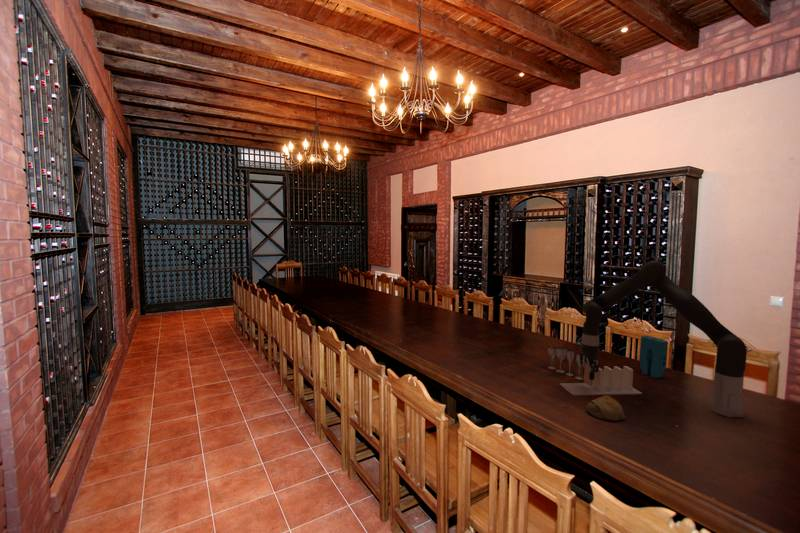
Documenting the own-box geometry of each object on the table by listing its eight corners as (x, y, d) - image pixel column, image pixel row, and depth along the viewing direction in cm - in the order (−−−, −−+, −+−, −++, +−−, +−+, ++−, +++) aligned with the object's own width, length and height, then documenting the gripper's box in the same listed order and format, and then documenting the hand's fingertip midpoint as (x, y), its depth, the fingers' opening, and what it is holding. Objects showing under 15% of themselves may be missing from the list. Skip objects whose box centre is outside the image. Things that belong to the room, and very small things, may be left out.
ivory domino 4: (631, 389, 182) (633, 369, 181) (628, 389, 182) (630, 369, 181) (625, 385, 187) (626, 366, 186) (622, 385, 187) (623, 366, 186)
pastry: (628, 415, 158) (629, 397, 157) (620, 426, 149) (621, 406, 148) (592, 404, 167) (592, 387, 167) (582, 414, 158) (583, 396, 158)
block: (666, 378, 199) (668, 341, 197) (659, 379, 197) (662, 342, 195) (644, 370, 210) (646, 335, 208) (638, 371, 208) (640, 336, 206)
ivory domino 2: (612, 390, 182) (613, 370, 181) (609, 390, 181) (610, 370, 181) (605, 385, 187) (607, 366, 186) (602, 385, 186) (603, 366, 186)
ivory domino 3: (622, 389, 182) (623, 369, 181) (618, 389, 182) (620, 369, 181) (615, 385, 187) (616, 366, 186) (612, 385, 187) (613, 366, 186)
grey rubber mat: (642, 394, 178) (642, 393, 178) (573, 395, 176) (573, 394, 176) (624, 383, 191) (624, 382, 191) (559, 384, 189) (559, 383, 189)
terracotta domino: (592, 385, 181) (593, 365, 180) (589, 385, 181) (590, 365, 180) (586, 381, 186) (587, 362, 185) (583, 381, 186) (584, 362, 185)
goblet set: (544, 367, 213) (545, 344, 212) (551, 365, 216) (552, 343, 215) (590, 385, 189) (591, 359, 188) (597, 383, 192) (598, 357, 191)
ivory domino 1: (602, 390, 181) (603, 370, 180) (599, 390, 181) (600, 370, 180) (596, 386, 186) (597, 366, 185) (593, 386, 186) (594, 366, 185)
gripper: (606, 347, 174) (604, 382, 176) (589, 338, 189) (587, 371, 190) (591, 347, 174) (589, 383, 176) (575, 339, 188) (573, 371, 190)
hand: (588, 376), depth 183 cm, fingers closed on terracotta domino, 5 cm apart
